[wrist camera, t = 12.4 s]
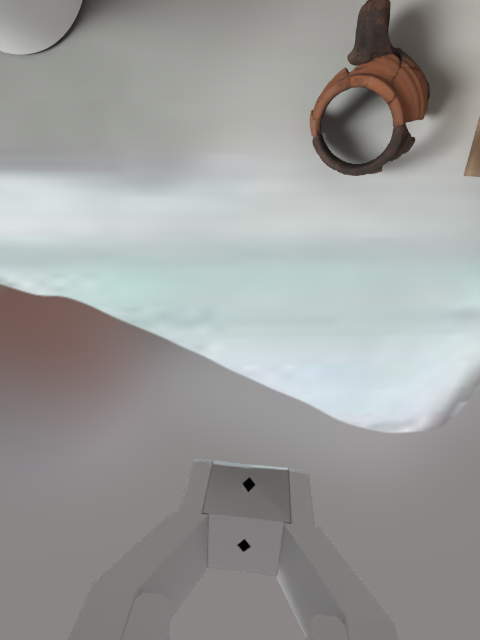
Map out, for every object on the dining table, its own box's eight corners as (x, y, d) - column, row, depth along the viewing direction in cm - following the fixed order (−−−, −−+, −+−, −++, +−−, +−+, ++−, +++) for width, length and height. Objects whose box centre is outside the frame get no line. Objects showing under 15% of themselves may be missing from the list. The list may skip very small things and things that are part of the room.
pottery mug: (433, 144, 34) (419, 179, 29) (333, 158, 39) (306, 190, 34) (439, -27, 27) (423, -21, 22) (316, 16, 32) (279, 30, 27)
